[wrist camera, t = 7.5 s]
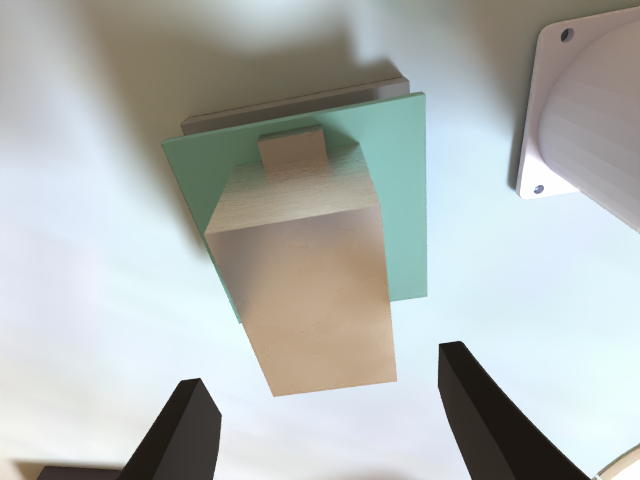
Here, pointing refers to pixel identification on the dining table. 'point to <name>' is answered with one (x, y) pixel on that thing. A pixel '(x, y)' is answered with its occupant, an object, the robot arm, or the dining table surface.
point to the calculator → (77, 474)
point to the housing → (307, 263)
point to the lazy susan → (624, 468)
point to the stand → (339, 130)
